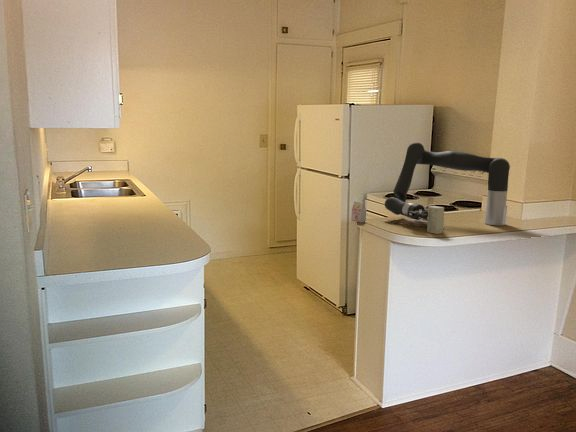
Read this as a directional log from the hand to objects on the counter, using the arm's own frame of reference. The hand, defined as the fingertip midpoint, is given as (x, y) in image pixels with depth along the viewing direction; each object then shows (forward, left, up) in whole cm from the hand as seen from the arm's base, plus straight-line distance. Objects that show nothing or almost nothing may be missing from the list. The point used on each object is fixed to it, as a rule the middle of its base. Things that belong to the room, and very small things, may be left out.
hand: (434, 216), depth 236 cm
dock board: (+14, -14, -7) cm, 22 cm away
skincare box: (-1, +1, -8) cm, 8 cm away
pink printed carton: (+40, 0, -8) cm, 41 cm away
